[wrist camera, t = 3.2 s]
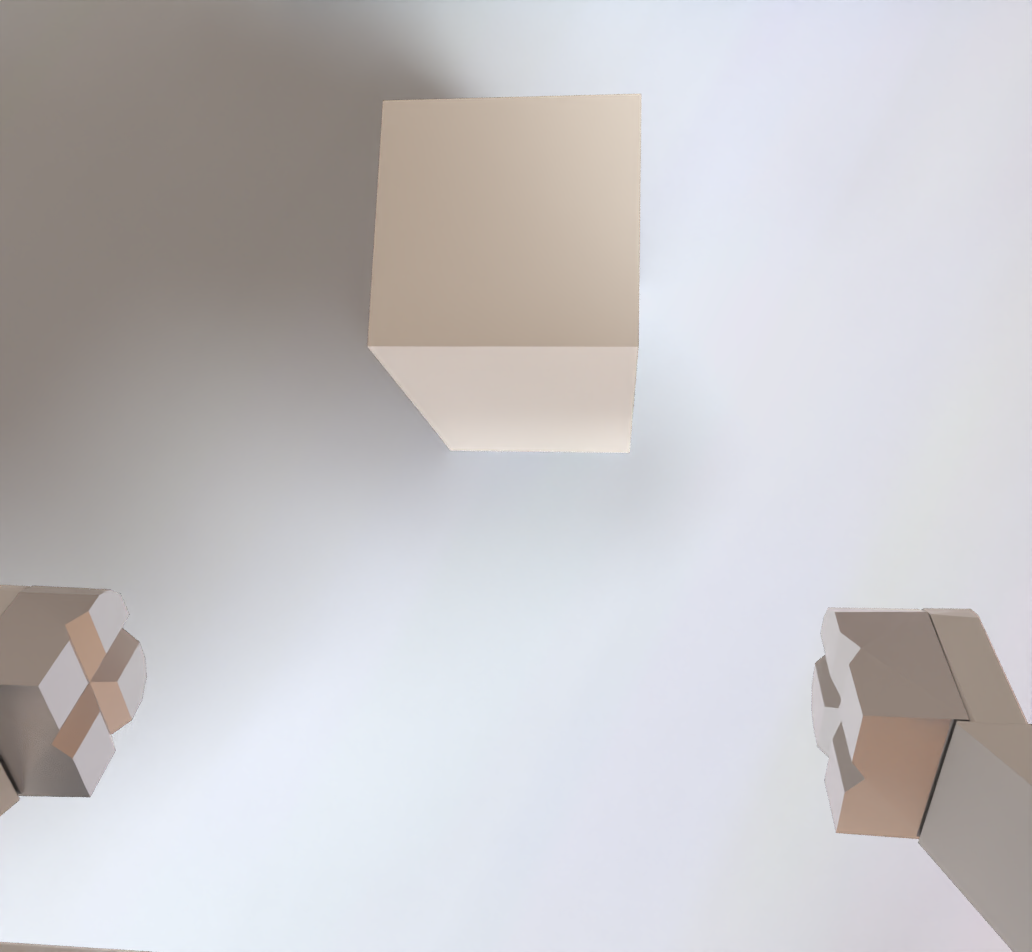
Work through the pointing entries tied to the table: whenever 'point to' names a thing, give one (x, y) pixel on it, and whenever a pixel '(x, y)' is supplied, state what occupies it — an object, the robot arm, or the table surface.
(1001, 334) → the table surface
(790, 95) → the table surface
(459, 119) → the rail module
